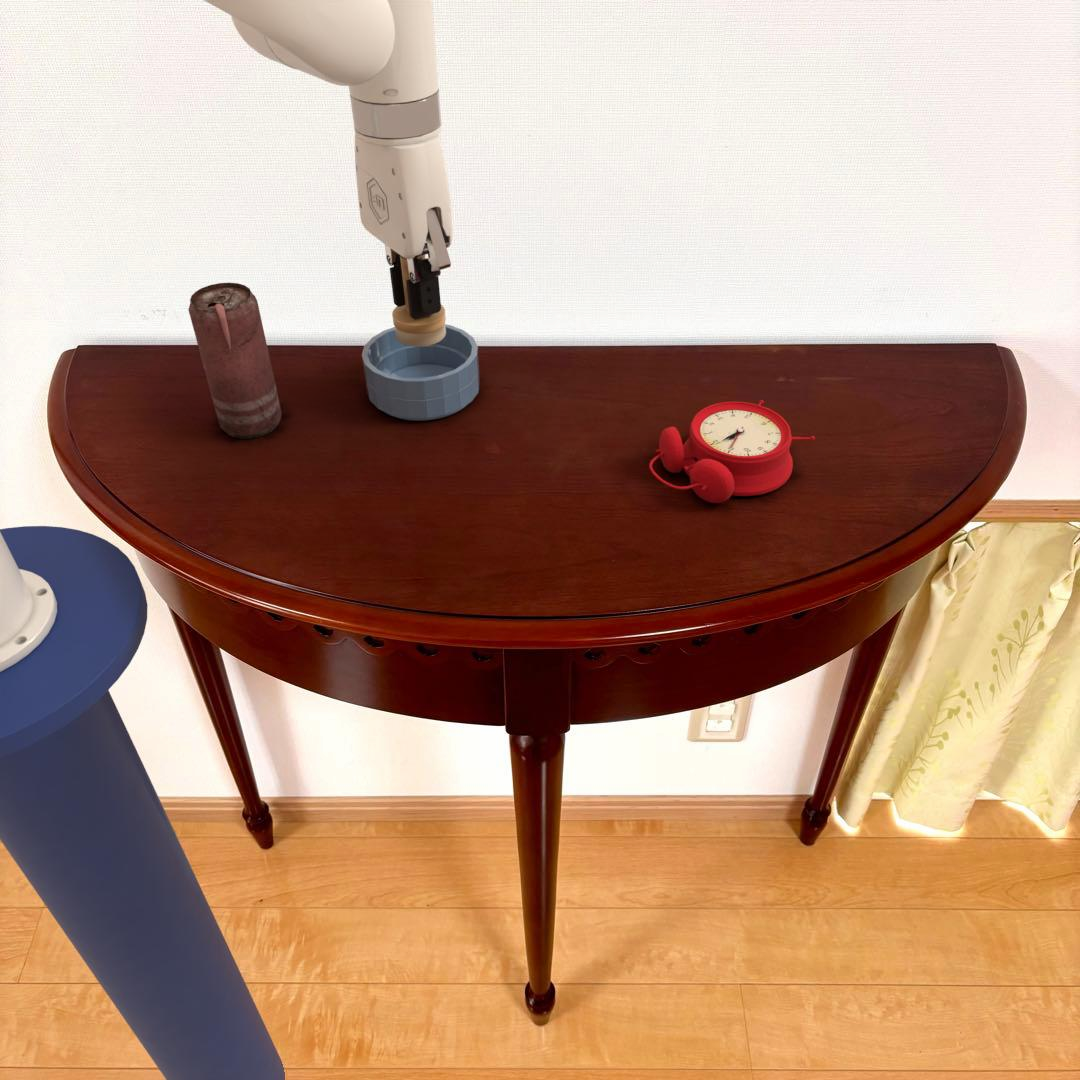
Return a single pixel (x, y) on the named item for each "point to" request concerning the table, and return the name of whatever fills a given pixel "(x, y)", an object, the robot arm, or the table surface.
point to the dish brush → (421, 329)
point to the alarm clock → (730, 451)
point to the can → (235, 359)
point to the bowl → (421, 375)
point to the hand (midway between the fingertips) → (417, 306)
